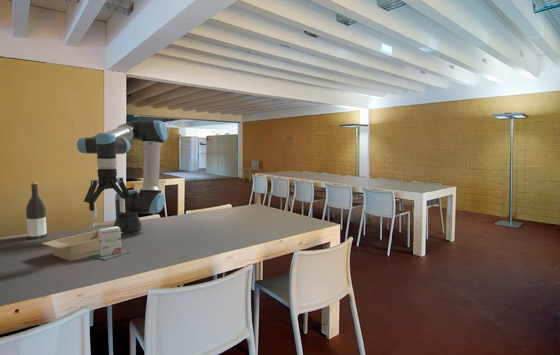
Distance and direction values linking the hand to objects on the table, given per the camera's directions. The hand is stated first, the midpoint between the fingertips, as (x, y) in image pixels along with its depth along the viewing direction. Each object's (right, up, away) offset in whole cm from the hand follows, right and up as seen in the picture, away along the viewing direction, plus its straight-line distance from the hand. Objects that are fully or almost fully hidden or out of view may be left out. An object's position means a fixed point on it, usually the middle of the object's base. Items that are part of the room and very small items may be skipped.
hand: (109, 214), depth 144 cm
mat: (0, -18, +2) cm, 18 cm away
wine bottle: (-52, -15, +26) cm, 60 cm away
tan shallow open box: (-14, -18, +6) cm, 23 cm away
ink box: (0, -18, +2) cm, 18 cm away
